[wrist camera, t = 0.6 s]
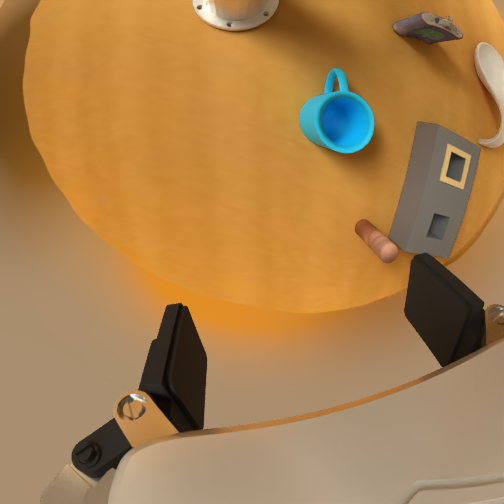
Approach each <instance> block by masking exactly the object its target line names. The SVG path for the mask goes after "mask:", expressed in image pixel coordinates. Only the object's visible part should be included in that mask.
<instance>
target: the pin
mask: <svg viewBox="0 0 504 504" xmlns="http://www.w3.org/2000/svg"><path fill="white" fill-rule="evenodd" d="M355 231H356V233H357V234H358V235H359V236H360V237H361V238H362V239H363V240H364V242H365V243H366V244H367V245H368V246H369V247H370V248H371V249H372V250H373V251H374V252H375V253H376V254H377V255H378V256H379V257H380V259H381V260H382V261H383V262H385V263H390V262H392V261H394V260H395V259H396V257H397V255H398V248H397V246H396V245H395V244H394V243H392V242H391V241H390V240H389V239H388V238H387V237H386V236H385V235H383V234H382V233H381V232H380V231H379V230H378V229H377V228H376V227H374V226H373V225H372V224H371V223H370V222H369V221H367V220H360V221H359V222H358V223H357V224H356V226H355Z"/></svg>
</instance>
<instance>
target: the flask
mask: <svg viewBox="0 0 504 504" xmlns="http://www.w3.org/2000/svg"><path fill="white" fill-rule="evenodd" d="M445 17H447V16H445ZM448 18H449V19H451V20H452V18H450V17H449V16H448ZM449 19H444V18H442V17H440V16H437V15H434V14H430V13H425V12H422V13H420V14H417V15H415V16H412V17H410V18H407V19H405V20H402V21H399V22H397V23H395V24H394V25H393V29H394V31H395V32H396V33H398V34H399V35H402V36H403V35H405V36H408V37H409V38H412V39H418V40H422V41H423V42H425V43H428V44H432V43H437V42H443V41H450V40H455V39H456V40H457V39H462V38H463V35H462V31H461V30H460V29H459V28H458V27H457V26H455V25H454V24H453V22H452V21H451V20H449Z"/></svg>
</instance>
